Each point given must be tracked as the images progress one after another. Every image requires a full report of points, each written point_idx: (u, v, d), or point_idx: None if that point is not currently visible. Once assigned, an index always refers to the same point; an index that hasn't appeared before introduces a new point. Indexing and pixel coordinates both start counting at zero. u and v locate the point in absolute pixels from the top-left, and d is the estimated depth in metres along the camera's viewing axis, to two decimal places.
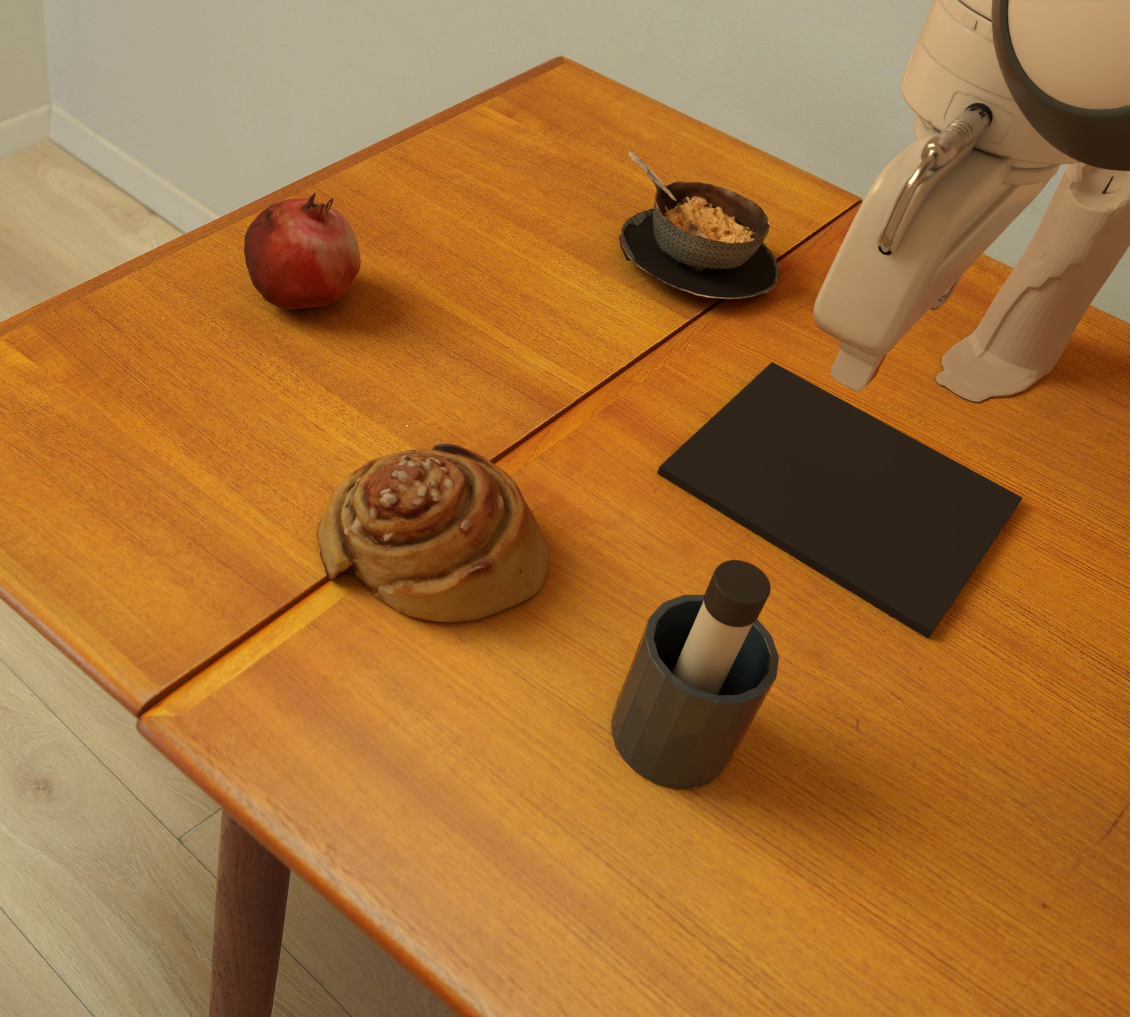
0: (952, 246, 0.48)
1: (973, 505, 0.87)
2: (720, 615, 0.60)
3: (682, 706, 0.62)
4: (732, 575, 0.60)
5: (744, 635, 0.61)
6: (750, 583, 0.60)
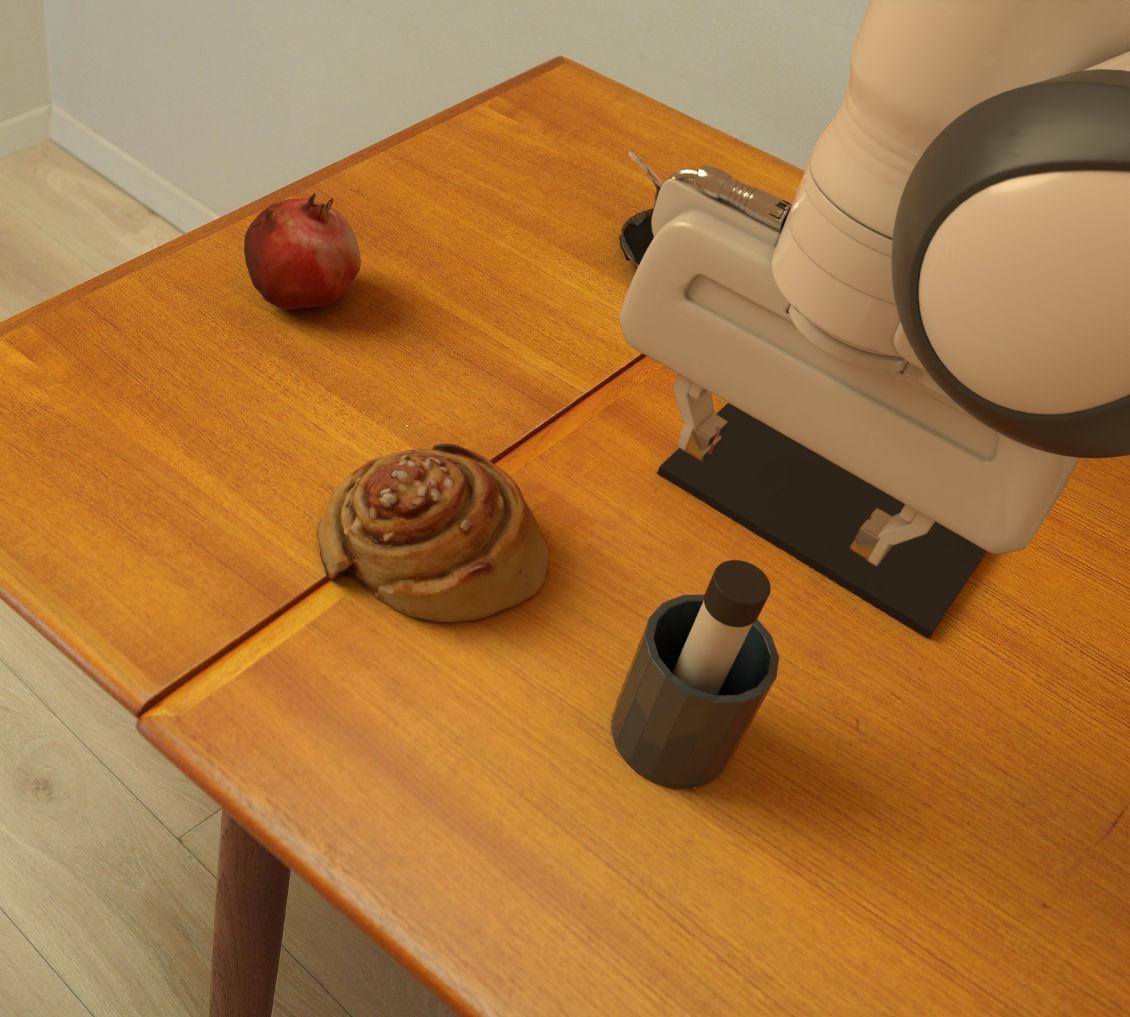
0: (718, 315, 0.50)
1: None
2: (720, 615, 0.60)
3: (682, 706, 0.62)
4: (732, 575, 0.60)
5: (744, 635, 0.61)
6: (750, 583, 0.60)
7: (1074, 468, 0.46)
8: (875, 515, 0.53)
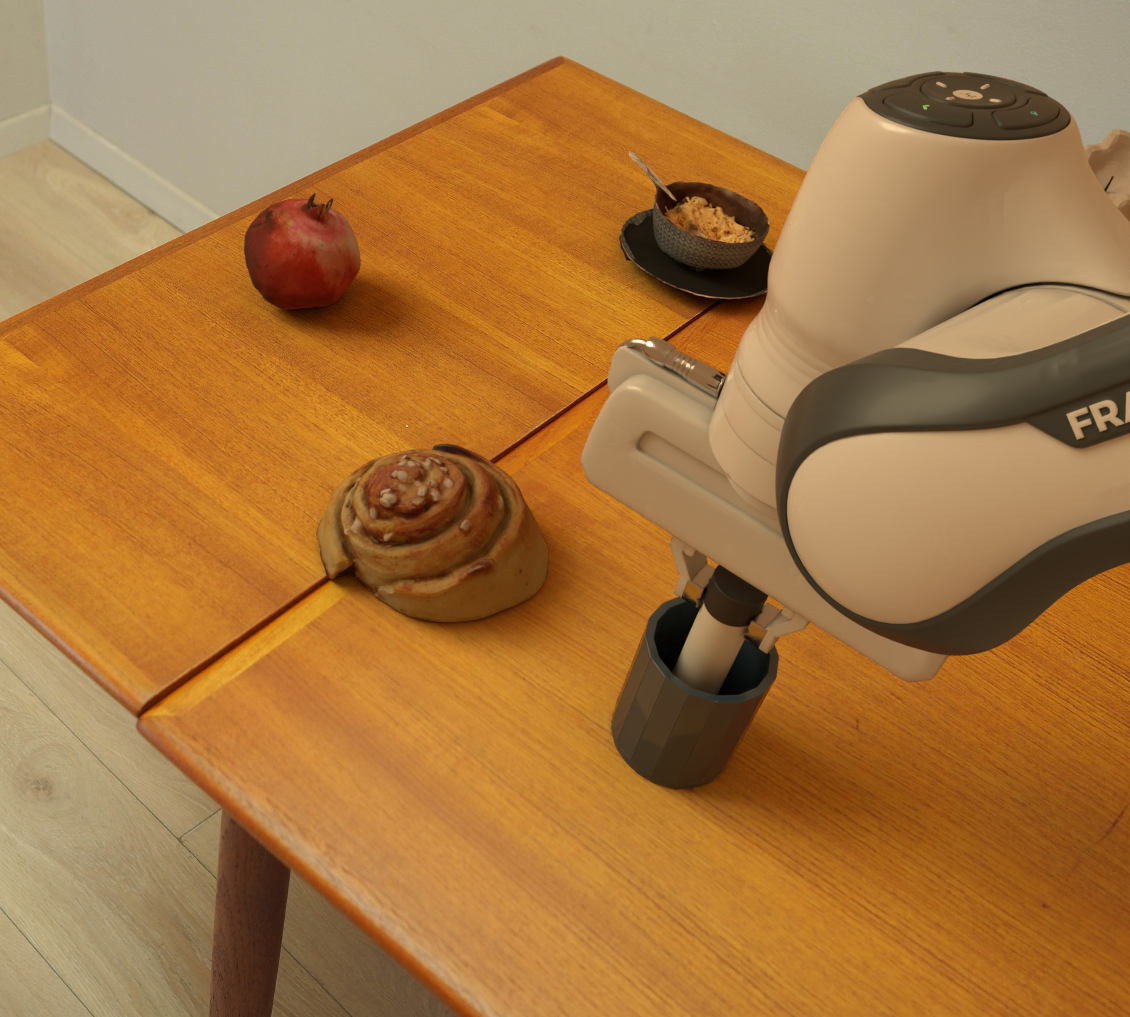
0: (665, 465, 0.57)
1: None
2: (719, 614, 0.60)
3: (682, 706, 0.62)
4: (732, 575, 0.60)
5: None
6: None
7: None
8: (765, 609, 0.60)
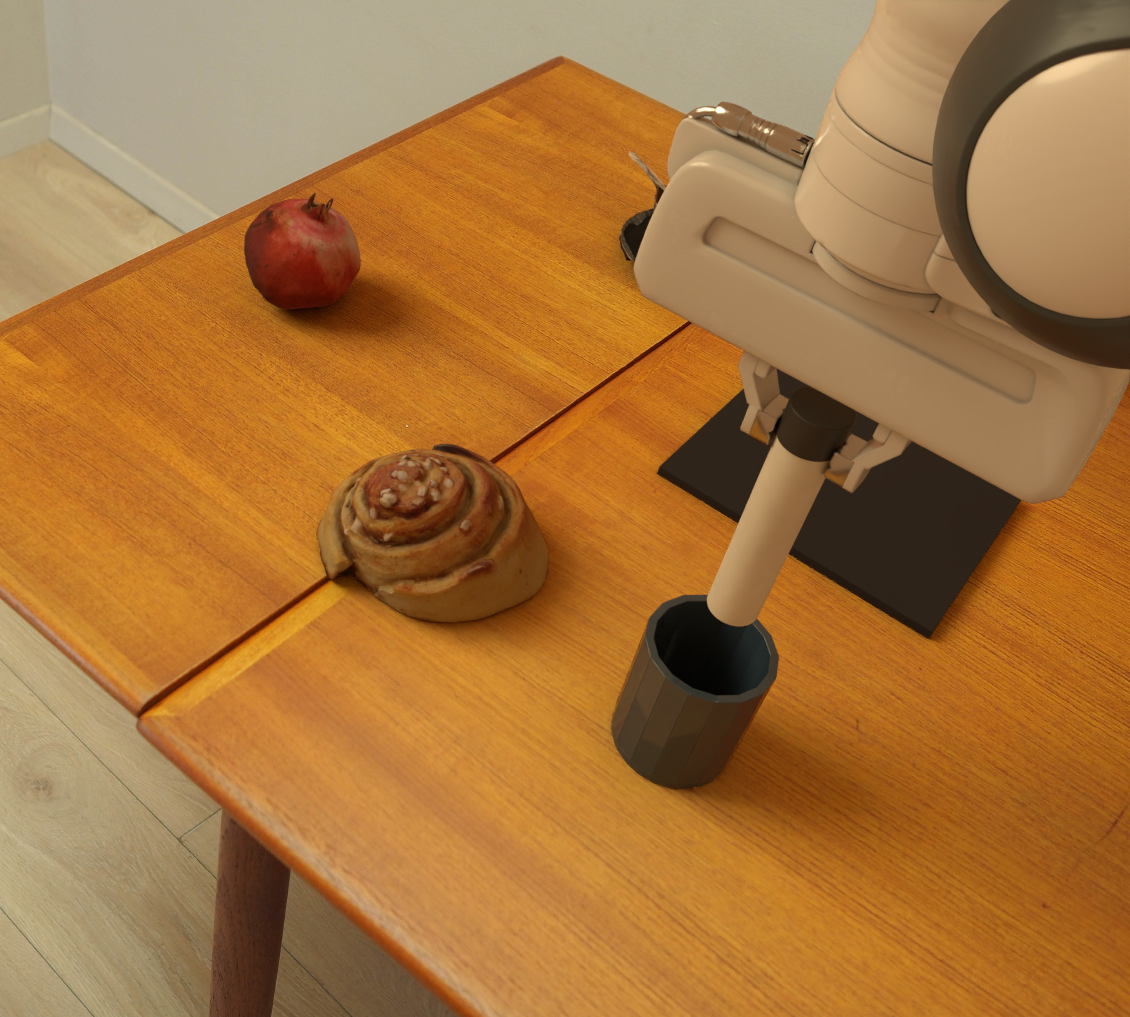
0: (737, 259, 0.48)
1: (973, 505, 0.87)
2: (797, 447, 0.51)
3: (682, 706, 0.62)
4: (811, 400, 0.51)
5: (823, 475, 0.53)
6: (832, 409, 0.51)
7: (1114, 412, 0.44)
8: (850, 441, 0.51)
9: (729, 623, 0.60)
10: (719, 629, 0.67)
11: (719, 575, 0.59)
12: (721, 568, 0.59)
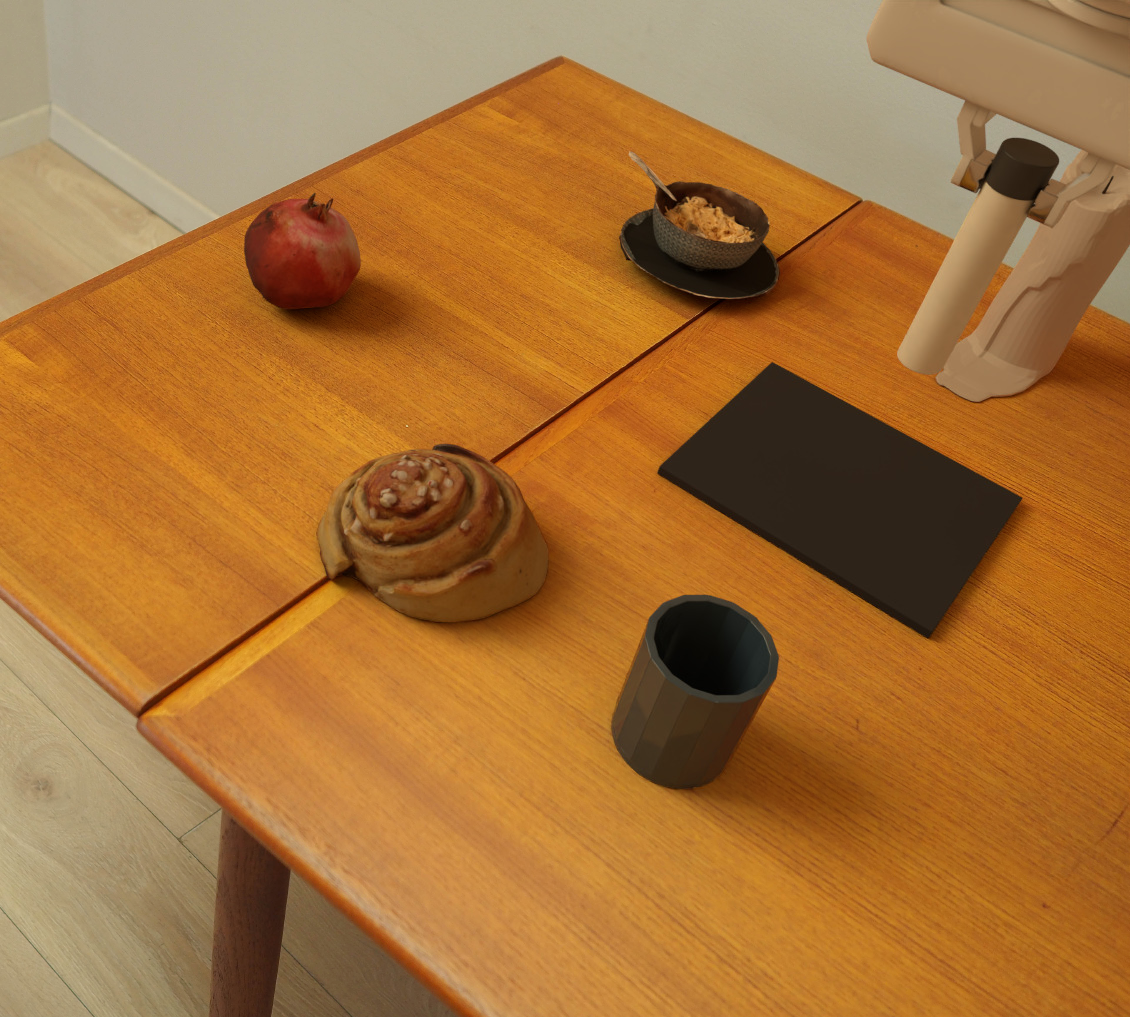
0: (970, 14, 0.57)
1: (973, 505, 0.87)
2: (1007, 186, 0.60)
3: (682, 706, 0.62)
4: (1020, 147, 0.60)
5: (1025, 216, 0.61)
6: (1039, 153, 0.60)
7: None
8: (1051, 183, 0.60)
9: (919, 372, 0.69)
10: (719, 629, 0.67)
11: (913, 327, 0.68)
12: (916, 320, 0.68)
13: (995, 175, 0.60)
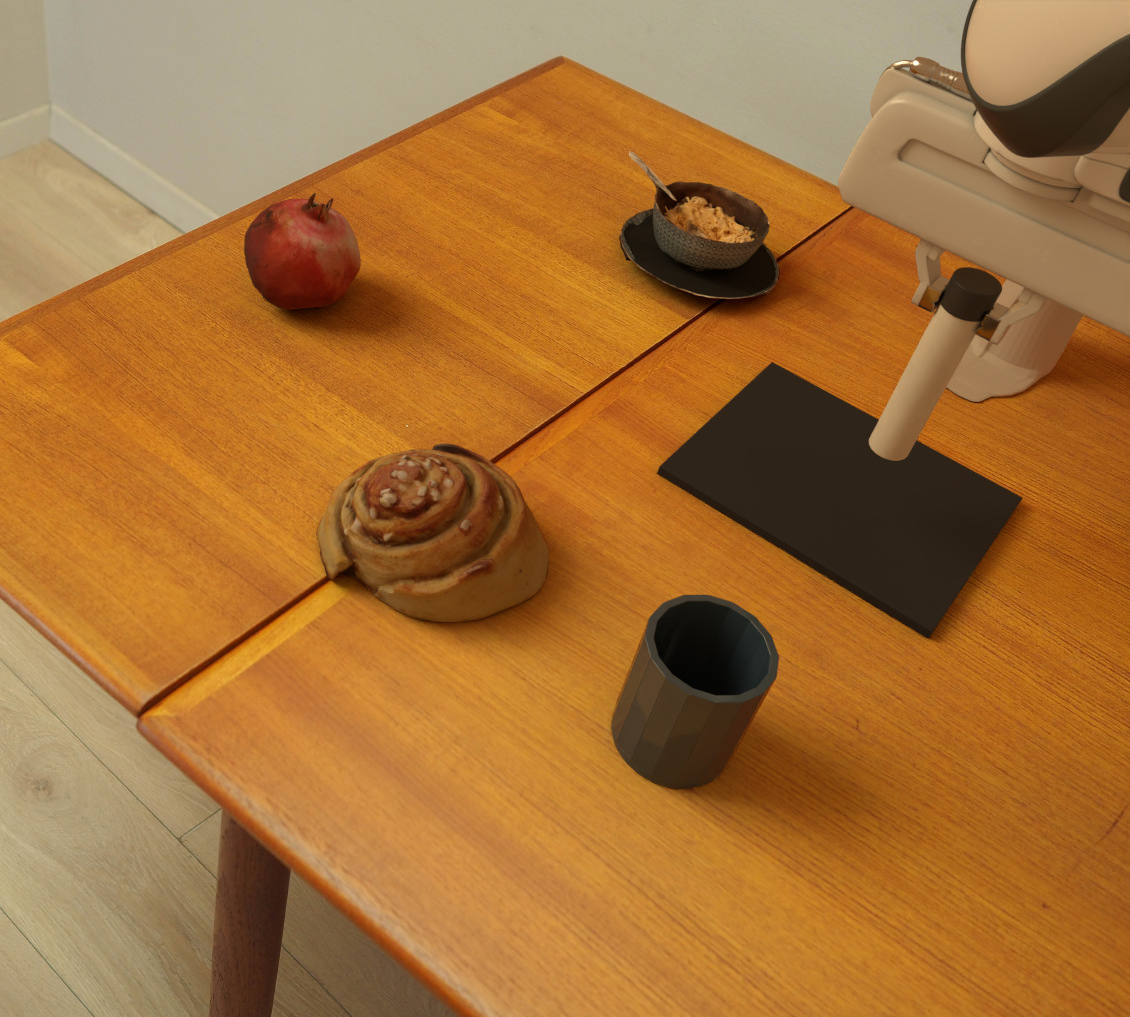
0: (924, 170, 0.67)
1: (973, 505, 0.87)
2: (958, 310, 0.70)
3: (682, 706, 0.62)
4: (968, 277, 0.70)
5: (974, 333, 0.72)
6: (984, 282, 0.70)
7: None
8: (996, 307, 0.71)
9: (888, 458, 0.79)
10: (719, 629, 0.67)
11: (882, 420, 0.78)
12: (884, 414, 0.78)
13: (948, 300, 0.71)
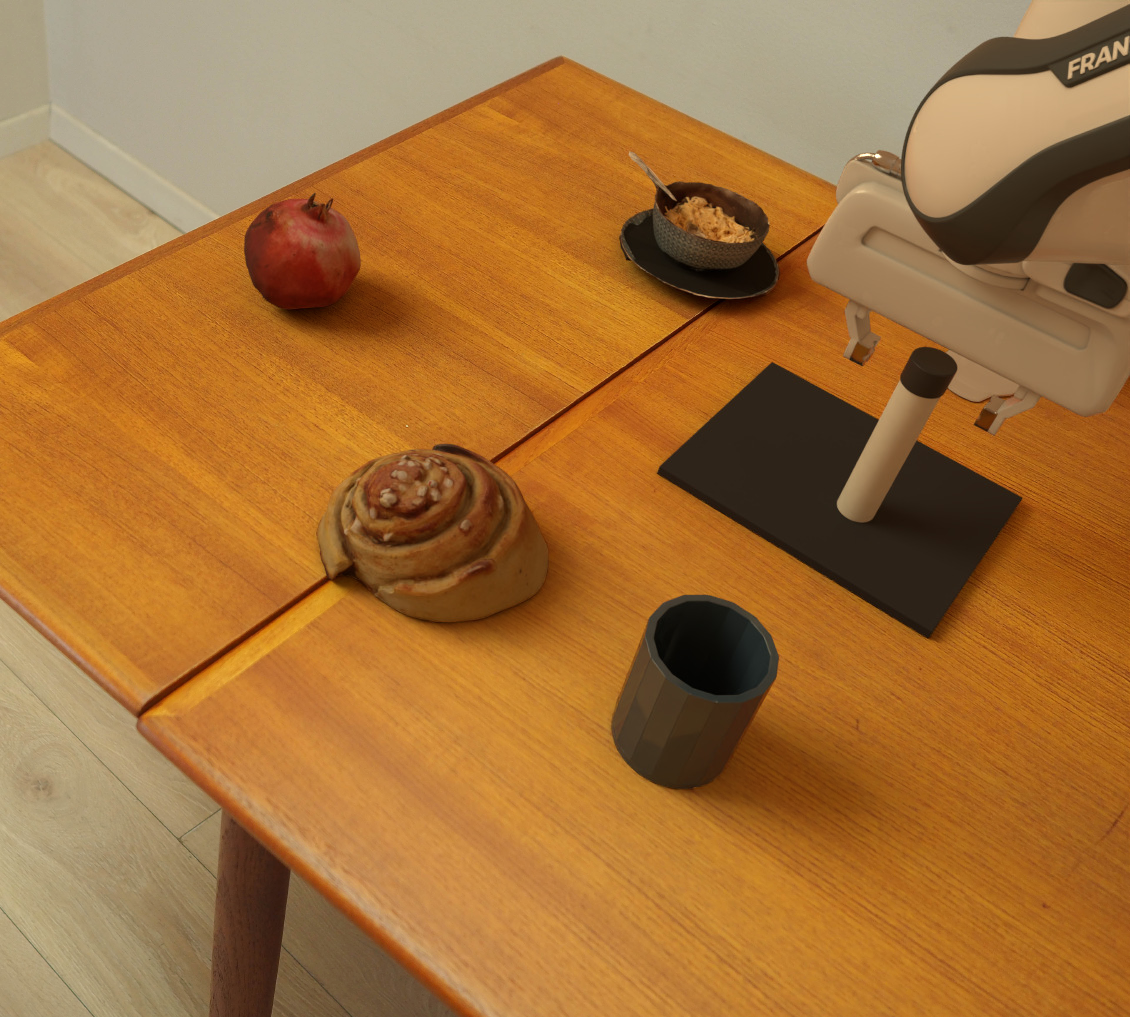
0: (886, 255, 0.72)
1: (973, 505, 0.87)
2: (916, 388, 0.75)
3: (682, 706, 0.62)
4: (926, 357, 0.75)
5: (932, 408, 0.76)
6: (941, 362, 0.75)
7: None
8: (993, 399, 0.74)
9: (854, 520, 0.84)
10: (719, 629, 0.67)
11: (848, 485, 0.83)
12: (850, 479, 0.83)
13: (907, 378, 0.75)
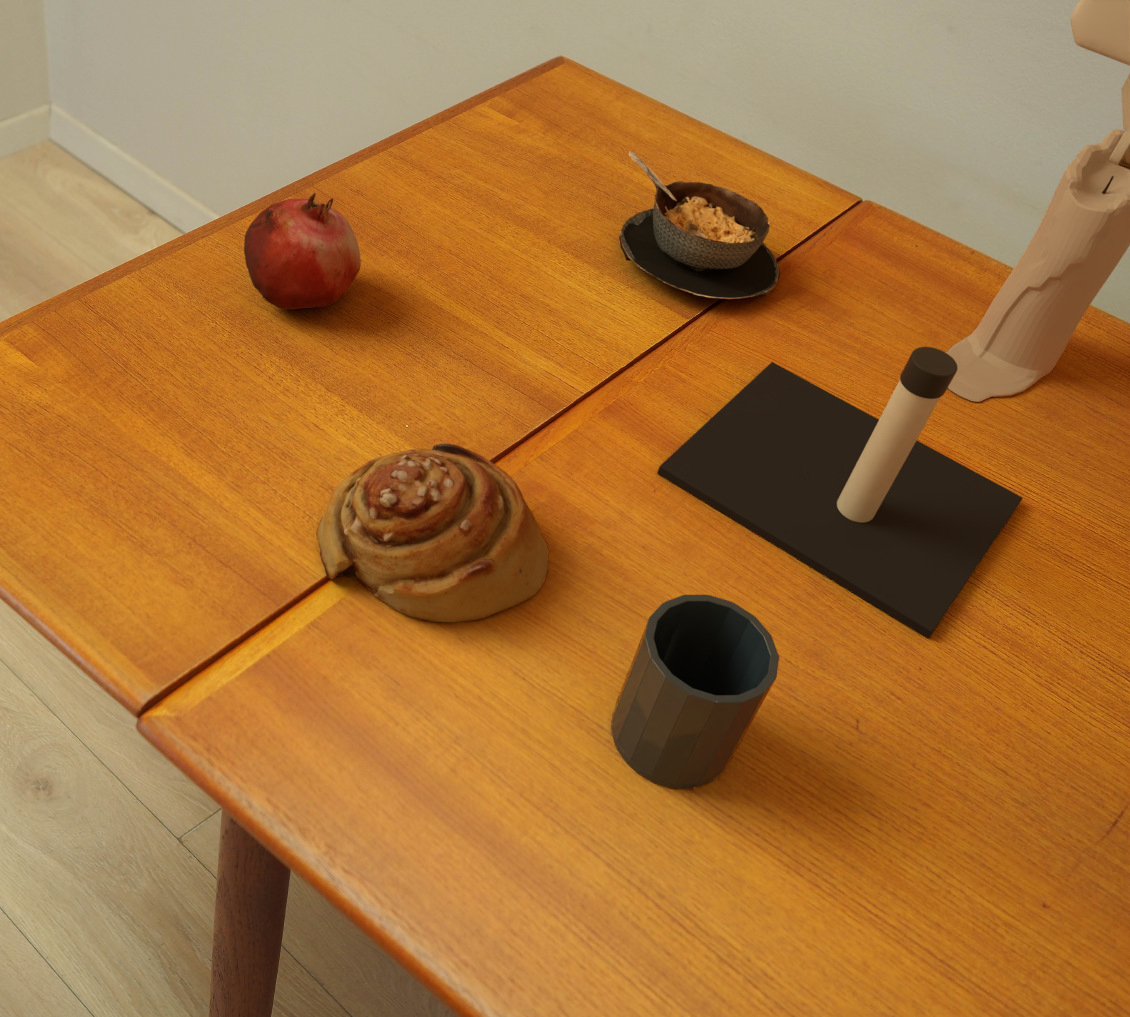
0: None
1: (973, 505, 0.87)
2: (916, 388, 0.75)
3: (682, 706, 0.62)
4: (926, 357, 0.75)
5: (932, 408, 0.76)
6: (941, 362, 0.75)
7: None
8: None
9: (854, 520, 0.84)
10: (719, 629, 0.67)
11: (848, 485, 0.83)
12: (850, 479, 0.83)
13: (907, 378, 0.75)
